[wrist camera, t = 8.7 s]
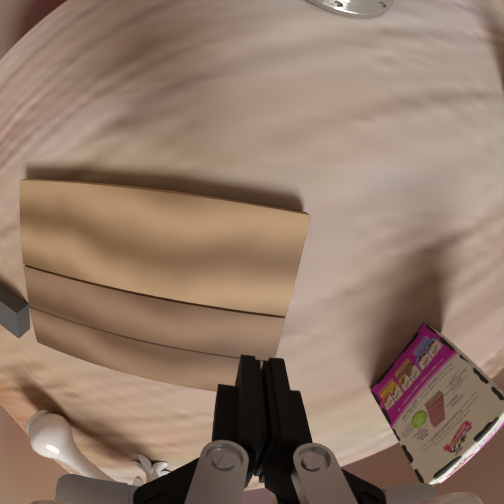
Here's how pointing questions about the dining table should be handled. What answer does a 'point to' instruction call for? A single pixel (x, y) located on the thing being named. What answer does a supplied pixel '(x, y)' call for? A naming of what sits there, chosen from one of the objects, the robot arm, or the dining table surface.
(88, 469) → the flower vase
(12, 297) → the block
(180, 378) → the laid board
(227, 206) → the plank
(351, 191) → the dining table surface
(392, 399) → the candy bar box
